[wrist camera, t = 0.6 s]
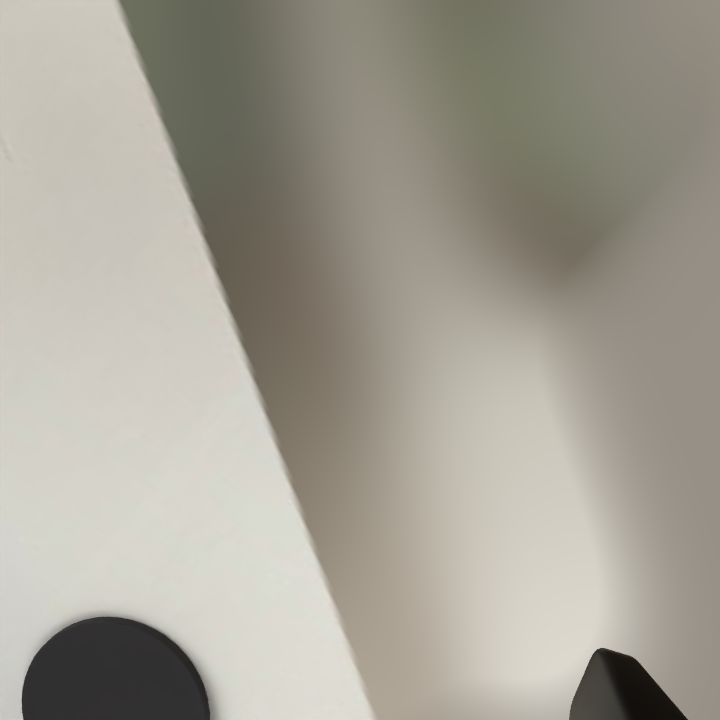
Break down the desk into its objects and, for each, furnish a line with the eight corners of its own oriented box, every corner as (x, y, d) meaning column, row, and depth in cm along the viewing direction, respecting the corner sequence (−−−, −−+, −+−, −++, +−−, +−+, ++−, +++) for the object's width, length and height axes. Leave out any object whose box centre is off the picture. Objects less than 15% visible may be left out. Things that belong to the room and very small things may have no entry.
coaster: (81, 822, 25) (75, 831, 25) (-4, 656, 25) (-12, 662, 25) (243, 762, 24) (239, 770, 24) (155, 587, 24) (150, 592, 23)
